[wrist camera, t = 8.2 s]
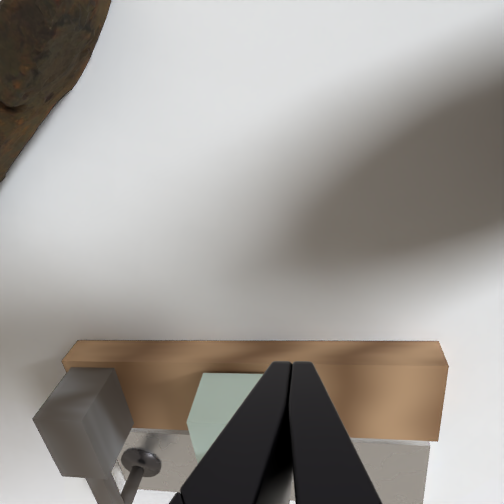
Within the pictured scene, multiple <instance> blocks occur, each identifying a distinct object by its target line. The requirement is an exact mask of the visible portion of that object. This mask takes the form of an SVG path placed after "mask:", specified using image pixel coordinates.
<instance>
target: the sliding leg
mask: <svg viewBox="0 0 504 504" xmlns="http://www.w3.org/2000/svg"><path fill="white" fill-rule="evenodd" d="M262 375H263V374H241V373H203V375H202V378H201V381H200V384H199V387H198V389H197V392H196V395H195V398H194V401H193V404H192V407H191V410H190V413H189V416H188V419H187V426H188V430H189V433H190V437H191V441H192V444H193V448H194V452H195V456H196V459H197V463H199V462H200V460H201V459H202V458H203V456H204V455H205V453H206V452H207V451H208V449H209V448H210V447H211V445H212V444H213V442H214V441H215V440H216V438H217V437H218V436H219V434H220V433H221V431H222V430H223V429H224V427H225V426H226V425H227V423H228V422H229V420H230V419H231V418H232V416H233V415H234V414H235V412H236V411H237V409H238V408H239V407H240V405H241V404H242V403H243V401H244V400H245V398H246V397H247V396H248V394H249V393H250V392H251V390H252V389H253V387H254V386H255V385H256V383H257V382H258V381H259V379H260V378H261V376H262Z"/></svg>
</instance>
